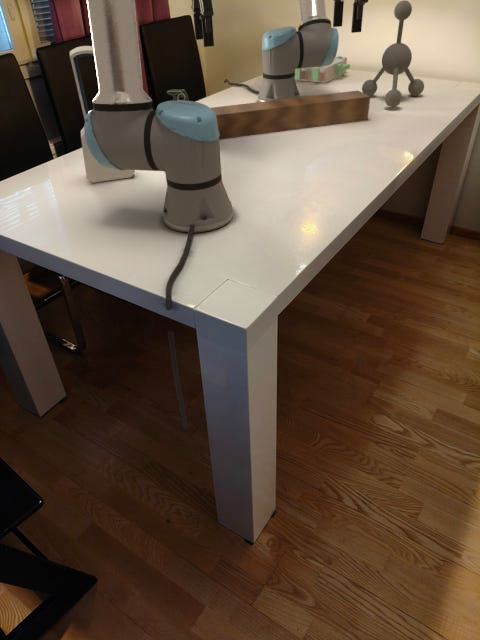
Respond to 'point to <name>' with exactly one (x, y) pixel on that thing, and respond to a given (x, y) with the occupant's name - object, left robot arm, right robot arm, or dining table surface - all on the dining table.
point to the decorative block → (323, 71)
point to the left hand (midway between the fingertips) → (204, 42)
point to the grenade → (178, 94)
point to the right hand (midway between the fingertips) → (346, 29)
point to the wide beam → (291, 113)
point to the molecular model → (396, 63)
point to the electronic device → (92, 167)
